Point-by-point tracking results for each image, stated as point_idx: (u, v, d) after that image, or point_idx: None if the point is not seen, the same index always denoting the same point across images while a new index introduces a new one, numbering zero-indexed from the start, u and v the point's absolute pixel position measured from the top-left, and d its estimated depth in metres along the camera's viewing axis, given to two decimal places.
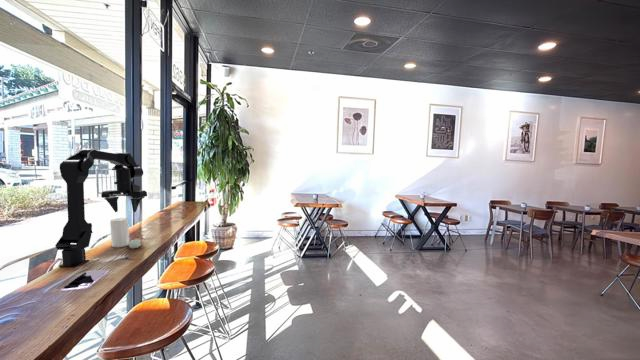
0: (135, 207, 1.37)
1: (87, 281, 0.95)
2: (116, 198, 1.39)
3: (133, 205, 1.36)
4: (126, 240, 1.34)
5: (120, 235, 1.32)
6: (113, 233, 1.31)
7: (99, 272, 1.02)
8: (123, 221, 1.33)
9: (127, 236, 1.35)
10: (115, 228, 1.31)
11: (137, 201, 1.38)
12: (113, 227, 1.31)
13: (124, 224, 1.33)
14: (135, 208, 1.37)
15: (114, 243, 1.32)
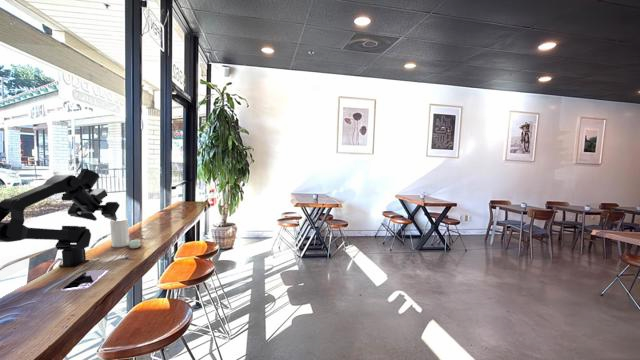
0: (114, 218, 1.24)
1: (87, 281, 0.95)
2: None
3: (111, 219, 1.22)
4: (126, 240, 1.34)
5: (120, 235, 1.32)
6: (113, 233, 1.31)
7: (99, 272, 1.02)
8: (123, 221, 1.33)
9: (127, 236, 1.35)
10: (115, 228, 1.31)
11: None
12: (113, 227, 1.31)
13: (124, 224, 1.33)
14: (114, 218, 1.24)
15: (114, 243, 1.32)
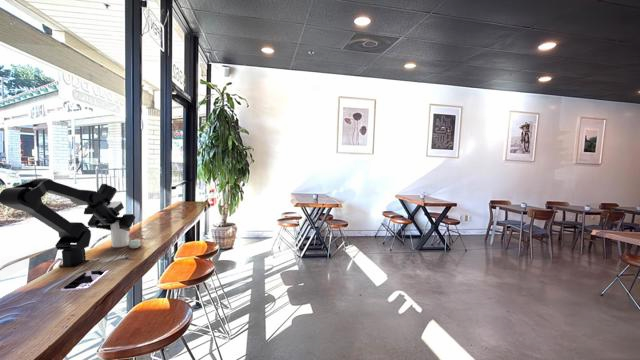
0: (127, 228, 1.33)
1: (87, 281, 0.95)
2: None
3: (125, 229, 1.32)
4: (126, 240, 1.34)
5: (121, 235, 1.32)
6: (113, 233, 1.31)
7: (99, 272, 1.02)
8: None
9: (127, 236, 1.35)
10: (115, 228, 1.31)
11: None
12: (113, 227, 1.31)
13: None
14: (128, 229, 1.34)
15: (114, 243, 1.32)
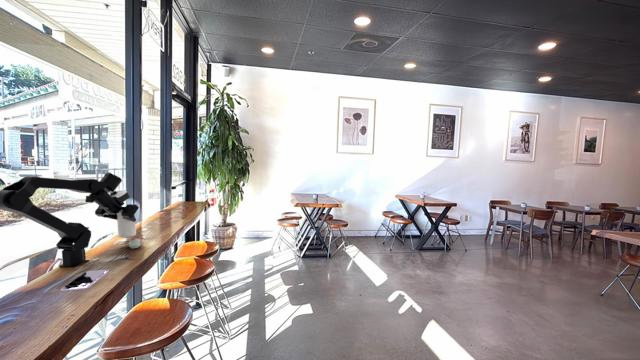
0: (132, 219, 1.31)
1: (87, 281, 0.95)
2: None
3: (129, 220, 1.29)
4: (131, 231, 1.32)
5: (126, 225, 1.30)
6: (119, 223, 1.30)
7: (99, 272, 1.02)
8: None
9: (133, 227, 1.33)
10: (120, 218, 1.29)
11: None
12: (119, 217, 1.30)
13: None
14: (133, 219, 1.32)
15: (119, 233, 1.30)
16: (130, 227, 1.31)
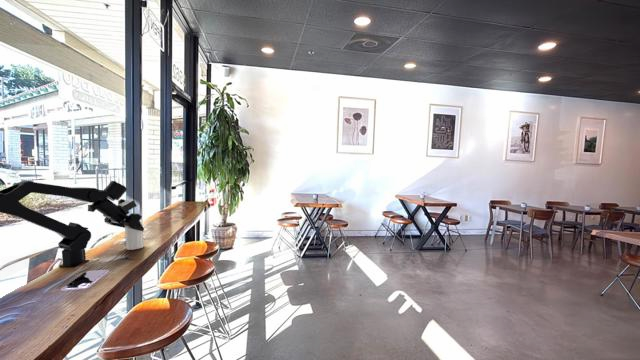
0: (139, 228, 1.28)
1: (87, 281, 0.95)
2: None
3: (136, 229, 1.26)
4: (138, 243, 1.29)
5: (132, 237, 1.28)
6: (126, 235, 1.28)
7: (99, 272, 1.02)
8: None
9: (139, 239, 1.30)
10: (127, 230, 1.28)
11: (137, 223, 1.26)
12: (125, 229, 1.28)
13: None
14: (140, 229, 1.28)
15: (126, 245, 1.29)
16: (136, 239, 1.29)
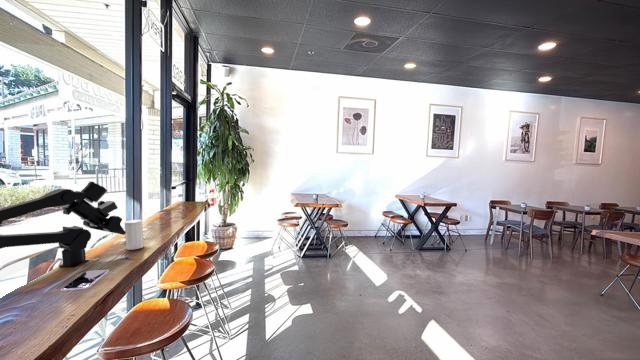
0: (120, 232, 1.20)
1: (87, 281, 0.95)
2: None
3: None
4: (138, 243, 1.29)
5: (132, 237, 1.28)
6: (126, 235, 1.28)
7: (99, 272, 1.02)
8: (134, 223, 1.28)
9: (139, 239, 1.30)
10: (127, 230, 1.28)
11: (117, 226, 1.19)
12: (125, 229, 1.28)
13: (136, 226, 1.28)
14: (121, 232, 1.21)
15: (126, 245, 1.29)
16: (136, 239, 1.29)
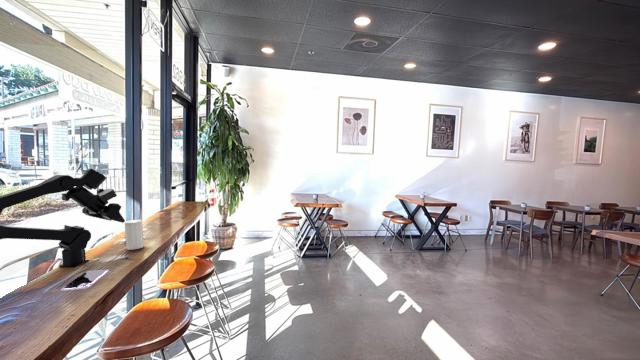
0: (119, 220, 1.20)
1: (87, 281, 0.95)
2: None
3: (115, 220, 1.19)
4: (138, 243, 1.29)
5: (132, 237, 1.28)
6: (126, 235, 1.28)
7: (99, 272, 1.02)
8: (134, 223, 1.28)
9: (139, 239, 1.30)
10: (127, 230, 1.28)
11: (117, 214, 1.19)
12: (125, 229, 1.28)
13: (136, 226, 1.28)
14: (120, 220, 1.21)
15: (126, 245, 1.29)
16: (136, 239, 1.29)
